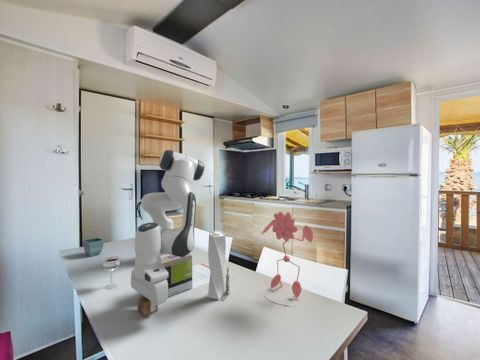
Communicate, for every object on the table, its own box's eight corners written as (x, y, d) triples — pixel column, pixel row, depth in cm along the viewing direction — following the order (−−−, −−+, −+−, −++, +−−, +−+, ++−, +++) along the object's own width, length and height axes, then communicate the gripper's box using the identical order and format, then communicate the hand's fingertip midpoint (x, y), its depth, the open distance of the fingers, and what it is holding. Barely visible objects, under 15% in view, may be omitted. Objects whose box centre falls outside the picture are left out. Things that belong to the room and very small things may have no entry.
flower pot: (97, 251, 153) (97, 237, 153) (104, 254, 148) (104, 239, 148) (82, 255, 146) (82, 240, 146) (88, 258, 141) (88, 242, 141)
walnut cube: (137, 311, 87) (137, 298, 87) (150, 306, 91) (150, 293, 91) (144, 317, 84) (144, 303, 84) (157, 311, 88) (157, 297, 88)
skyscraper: (222, 303, 94) (223, 232, 94) (203, 299, 97) (204, 230, 96) (230, 293, 102) (231, 227, 102) (213, 290, 105) (213, 225, 104)
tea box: (180, 281, 113) (181, 249, 112) (192, 288, 106) (193, 254, 105) (149, 291, 102) (149, 257, 102) (160, 300, 95) (160, 263, 95)
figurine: (268, 279, 116) (268, 206, 114) (319, 300, 98) (320, 213, 96) (246, 291, 105) (246, 210, 103) (298, 316, 87) (300, 219, 85)
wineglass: (113, 281, 111) (113, 255, 111) (123, 284, 108) (123, 258, 108) (99, 287, 105) (99, 260, 105) (109, 291, 102) (109, 263, 102)
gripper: (126, 264, 92) (126, 300, 92) (154, 280, 78) (154, 322, 78) (142, 259, 96) (142, 294, 97) (171, 274, 83) (171, 314, 83)
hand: (147, 307), depth 87 cm, fingers closed on walnut cube, 5 cm apart
